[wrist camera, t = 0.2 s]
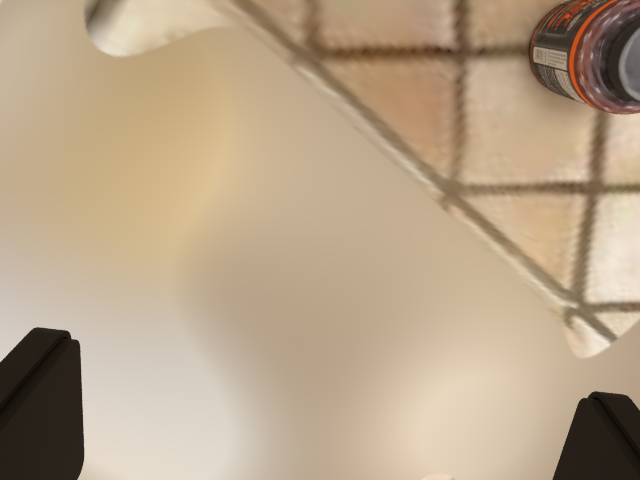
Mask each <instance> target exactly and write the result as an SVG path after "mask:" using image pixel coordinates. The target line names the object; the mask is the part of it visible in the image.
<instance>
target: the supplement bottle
mask: <svg viewBox="0 0 640 480" xmlns="http://www.w3.org/2000/svg"><path fill="white" fill-rule="evenodd" d="M530 61H531V66H532V69H533V72H534V74H535V76H536V77H537V79H538V80H539V81H540V83H541V84H543V85H544V86H545V87H546V88H548V89H550V90H551V91H553V92H555V93H557V94H559V95H562V96H565V97H567V98H570V99H573V100H576V101H578V102H581V103H583V104H585V105H588V106H591V107H594V108H596V109H599V110H603V111H605V112H609V113H614V114H635V113H640V0H572V1H568V2H566V3H564V4H561V5H559V6H558V7H556V8H555V9H553V10H552V11H551V12H550V13H549V14H548V15H547V16H546V17H545V18H544V19H543V20H542V21H541V23H540V24H539V26H538V27H537V29H536V31H535V33H534V35H533V38H532V41H531V47H530Z"/></svg>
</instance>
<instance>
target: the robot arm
mask: <svg viewBox="0 0 640 480" xmlns="http://www.w3.org/2000/svg"><path fill="white" fill-rule="evenodd" d="M80 358H81V357H80V344H79V341H78V340H73V339H71V335H70V333H69V332H68V331H65V330H56V329H47V328H39V327H38V328H34V329H33V330H31V331H30V332H29V333H28V334H27V335H26V336H25V337H24V338H23V339H22V340H21V341H20V342H19V343H18V345H17V346H16V347H15V348H14V349H13V350H12V351H11V352H10V353H9V354H8V355H7V356H6V357H5V358H4V359H3V360H2V361H1V362H0V480H77V479H78V477H79V475H80V473H81V470H82V466H83V462H84V434H83V411H82V410H83V409H82V383H81V359H80ZM553 480H640V410H639V409H638V408H637V406H636V405H635V404H634V403H633V401H632V400H631V399H630V398H629V397H628V396H626V395H622V394H613V393H605V392H596V391H595V392H592V393H591V394H590V395H589V396H588V398H583V399H581V400H580V401H579V404H578V406H577V409H576V412H575V415H574V418H573V421H572V424H571V427H570V430H569V433H568V436H567V438H566V441H565V444H564V447H563V450H562V454H561V456H560V459H559V462H558V465H557V468H556V471H555V474H554V477H553Z"/></svg>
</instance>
